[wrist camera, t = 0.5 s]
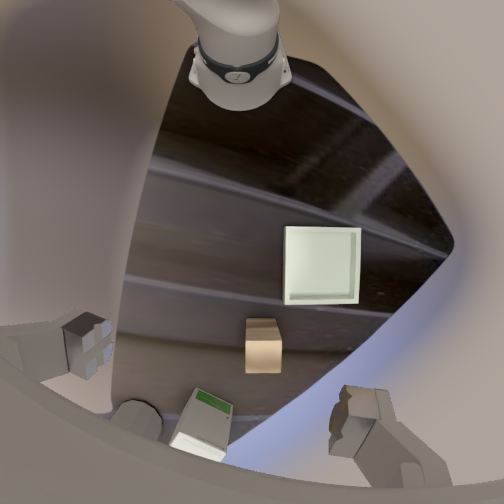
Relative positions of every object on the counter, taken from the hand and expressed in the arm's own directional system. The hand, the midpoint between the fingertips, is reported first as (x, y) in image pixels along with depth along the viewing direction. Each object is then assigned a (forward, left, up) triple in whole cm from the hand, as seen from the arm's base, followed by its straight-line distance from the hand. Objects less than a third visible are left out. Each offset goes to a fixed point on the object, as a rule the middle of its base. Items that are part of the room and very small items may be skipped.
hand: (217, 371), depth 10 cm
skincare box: (+29, -7, -45) cm, 54 cm away
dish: (+1, +13, -45) cm, 47 cm away
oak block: (+13, +3, -45) cm, 47 cm away
